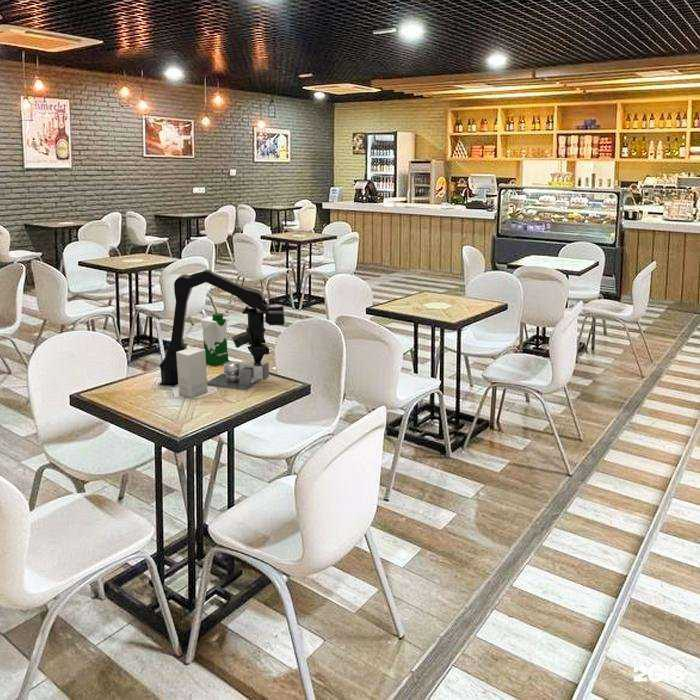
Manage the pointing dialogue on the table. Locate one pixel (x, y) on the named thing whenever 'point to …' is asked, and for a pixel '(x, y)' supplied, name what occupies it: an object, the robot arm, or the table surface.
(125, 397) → the table surface
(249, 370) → the base
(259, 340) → the robot arm
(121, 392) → the table surface
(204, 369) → the skincare box
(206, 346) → the milk carton
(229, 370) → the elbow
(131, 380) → the table surface
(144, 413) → the table surface
